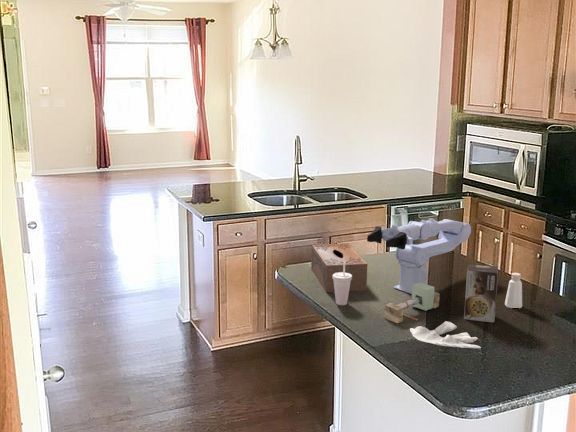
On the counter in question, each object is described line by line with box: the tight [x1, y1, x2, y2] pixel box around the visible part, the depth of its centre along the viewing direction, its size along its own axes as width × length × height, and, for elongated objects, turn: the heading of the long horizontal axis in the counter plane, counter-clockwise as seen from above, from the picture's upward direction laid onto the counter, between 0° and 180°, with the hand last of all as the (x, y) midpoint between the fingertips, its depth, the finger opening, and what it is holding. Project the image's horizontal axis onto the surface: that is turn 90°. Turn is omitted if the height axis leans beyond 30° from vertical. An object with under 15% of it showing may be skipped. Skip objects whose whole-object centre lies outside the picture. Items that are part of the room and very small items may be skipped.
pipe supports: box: [384, 291, 440, 324], centre depth 192 cm, size 21×10×4 cm, turn 131°
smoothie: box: [332, 262, 352, 306], centre depth 198 cm, size 6×6×14 cm
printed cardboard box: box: [463, 263, 499, 323], centre depth 187 cm, size 9×6×16 cm
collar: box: [411, 283, 436, 312], centre depth 195 cm, size 4×6×7 cm
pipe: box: [389, 296, 422, 314], centre depth 192 cm, size 21×2×2 cm, turn 131°
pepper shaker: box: [504, 272, 523, 309], centre depth 197 cm, size 5×5×11 cm
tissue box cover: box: [310, 243, 368, 293], centre depth 222 cm, size 26×14×10 cm, turn 9°
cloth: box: [409, 320, 482, 349], centre depth 176 cm, size 20×22×2 cm
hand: (377, 241), depth 195 cm, fingers open, 7 cm apart
